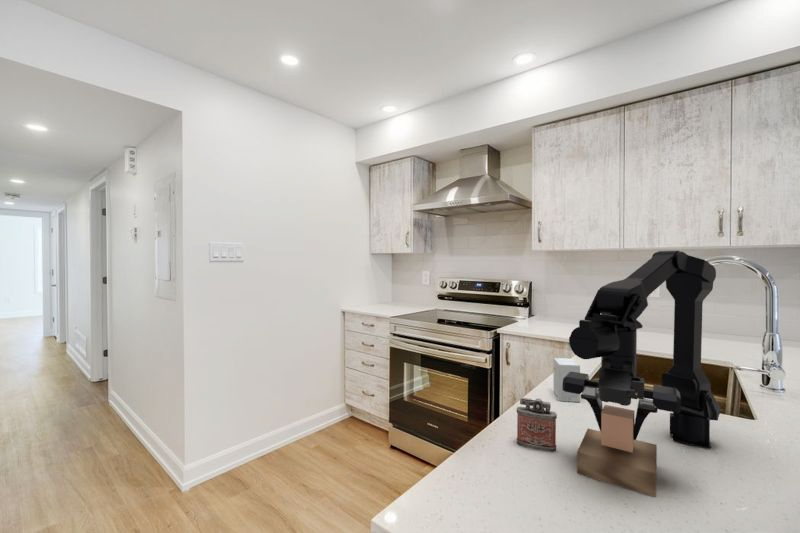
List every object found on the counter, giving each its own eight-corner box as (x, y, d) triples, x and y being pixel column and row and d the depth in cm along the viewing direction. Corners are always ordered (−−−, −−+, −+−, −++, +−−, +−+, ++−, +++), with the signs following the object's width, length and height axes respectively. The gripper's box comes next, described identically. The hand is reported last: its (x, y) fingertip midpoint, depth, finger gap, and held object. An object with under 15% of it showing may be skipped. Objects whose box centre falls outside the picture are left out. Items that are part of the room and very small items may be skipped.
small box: (580, 403, 103) (580, 365, 103) (558, 401, 104) (559, 364, 104) (572, 393, 111) (573, 358, 111) (553, 391, 112) (553, 357, 112)
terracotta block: (634, 441, 70) (634, 410, 70) (632, 452, 66) (632, 419, 66) (604, 434, 73) (604, 404, 73) (601, 444, 69) (601, 412, 69)
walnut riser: (656, 465, 71) (656, 444, 71) (655, 497, 61) (655, 473, 61) (587, 447, 78) (587, 428, 78) (577, 473, 68) (577, 451, 68)
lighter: (556, 446, 78) (557, 399, 78) (556, 453, 75) (556, 405, 75) (517, 438, 82) (517, 393, 82) (515, 445, 79) (515, 399, 79)
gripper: (556, 354, 68) (555, 437, 69) (682, 371, 58) (681, 470, 58) (568, 343, 77) (568, 417, 78) (679, 357, 67) (679, 442, 67)
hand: (617, 435), depth 70 cm, fingers closed on terracotta block, 5 cm apart
